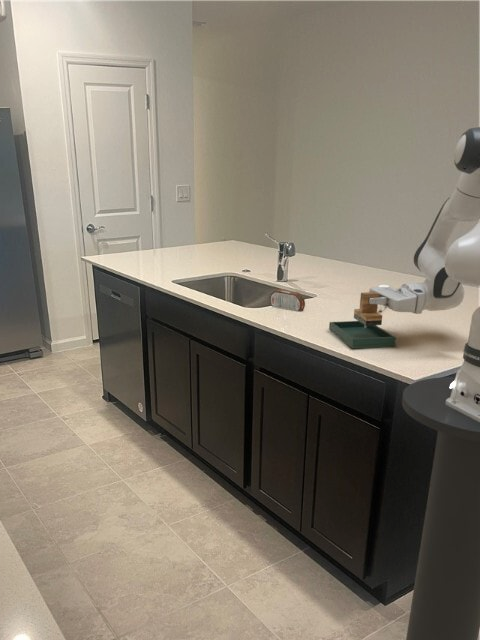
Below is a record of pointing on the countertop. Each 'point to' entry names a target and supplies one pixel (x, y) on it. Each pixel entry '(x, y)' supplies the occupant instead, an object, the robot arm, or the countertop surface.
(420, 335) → the countertop surface
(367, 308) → the wooden inverted t block
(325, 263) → the countertop surface
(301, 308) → the tin
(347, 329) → the tray
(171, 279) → the countertop surface
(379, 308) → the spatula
